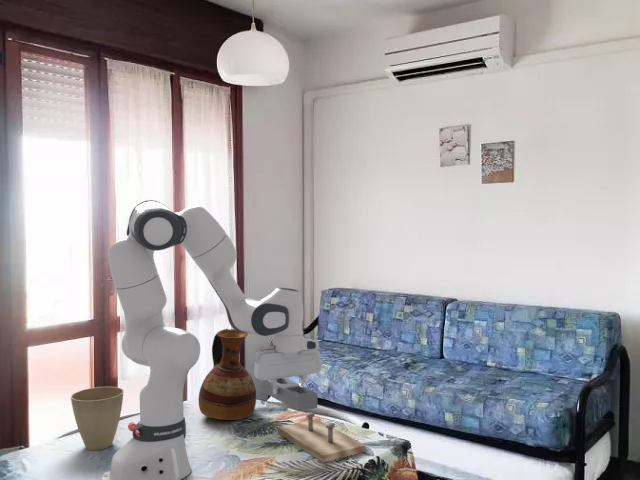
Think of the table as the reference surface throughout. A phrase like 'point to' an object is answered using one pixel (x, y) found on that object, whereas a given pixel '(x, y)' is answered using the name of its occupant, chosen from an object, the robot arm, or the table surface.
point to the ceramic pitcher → (227, 380)
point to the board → (321, 439)
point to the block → (292, 394)
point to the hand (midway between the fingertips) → (288, 392)
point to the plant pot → (97, 415)
